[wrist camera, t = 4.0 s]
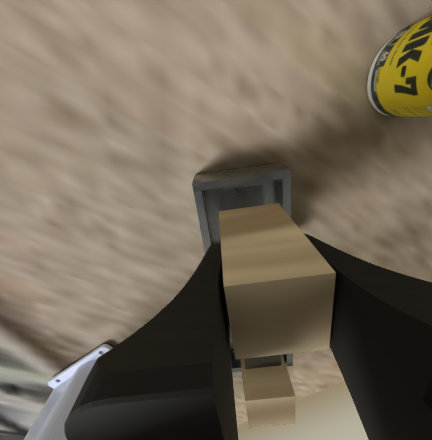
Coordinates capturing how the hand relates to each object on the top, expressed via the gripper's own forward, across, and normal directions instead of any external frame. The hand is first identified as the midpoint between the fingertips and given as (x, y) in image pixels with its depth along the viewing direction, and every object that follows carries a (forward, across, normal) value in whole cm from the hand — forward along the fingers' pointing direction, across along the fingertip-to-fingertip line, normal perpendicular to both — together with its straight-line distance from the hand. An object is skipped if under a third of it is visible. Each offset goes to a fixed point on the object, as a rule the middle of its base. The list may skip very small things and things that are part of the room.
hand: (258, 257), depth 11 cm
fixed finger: (+6, 0, +12) cm, 13 cm away
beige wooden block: (+2, 0, 0) cm, 2 cm away
